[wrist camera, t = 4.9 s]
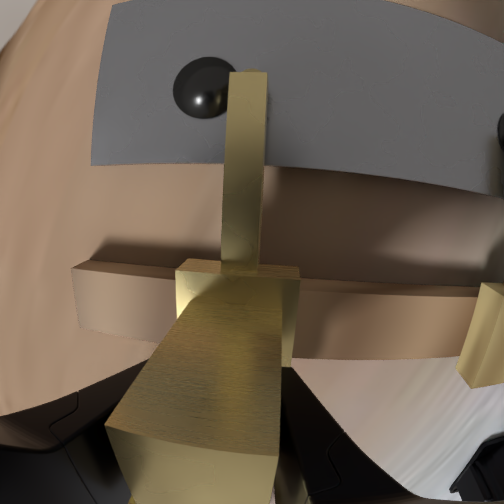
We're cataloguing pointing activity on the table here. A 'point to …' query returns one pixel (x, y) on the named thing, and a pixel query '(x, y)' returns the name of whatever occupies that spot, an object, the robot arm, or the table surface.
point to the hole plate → (305, 88)
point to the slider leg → (217, 349)
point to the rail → (321, 317)
